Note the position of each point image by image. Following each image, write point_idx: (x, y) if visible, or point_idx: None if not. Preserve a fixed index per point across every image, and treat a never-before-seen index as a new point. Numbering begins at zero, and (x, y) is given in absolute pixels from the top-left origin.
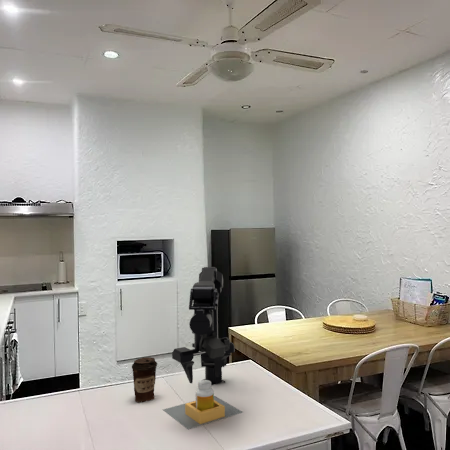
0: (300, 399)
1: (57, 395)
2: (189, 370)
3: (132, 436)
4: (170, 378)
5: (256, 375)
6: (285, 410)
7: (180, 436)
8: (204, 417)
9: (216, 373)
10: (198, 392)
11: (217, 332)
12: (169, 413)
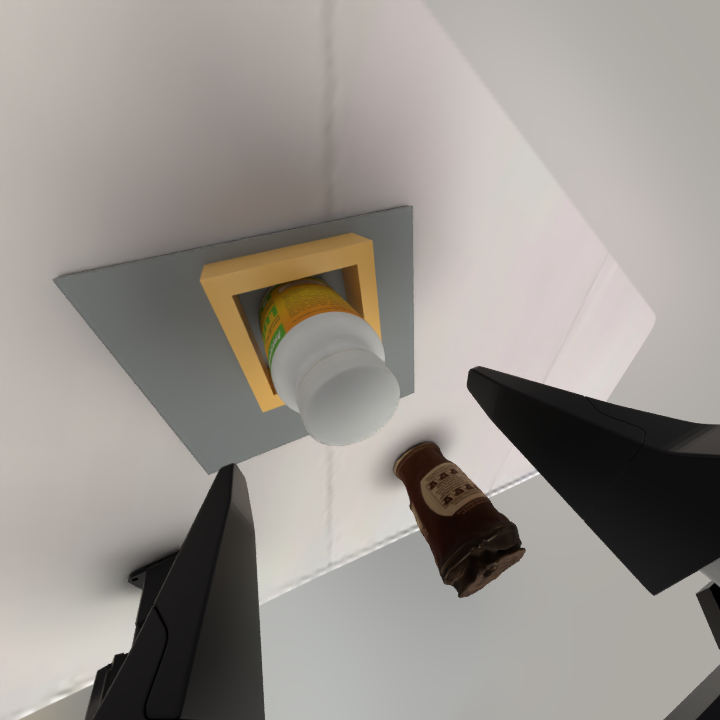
0: None
1: (518, 476)
2: (625, 411)
3: (538, 260)
4: (315, 562)
5: None
6: None
7: (447, 178)
8: (336, 242)
9: (243, 499)
10: (382, 351)
11: None
12: (409, 363)
